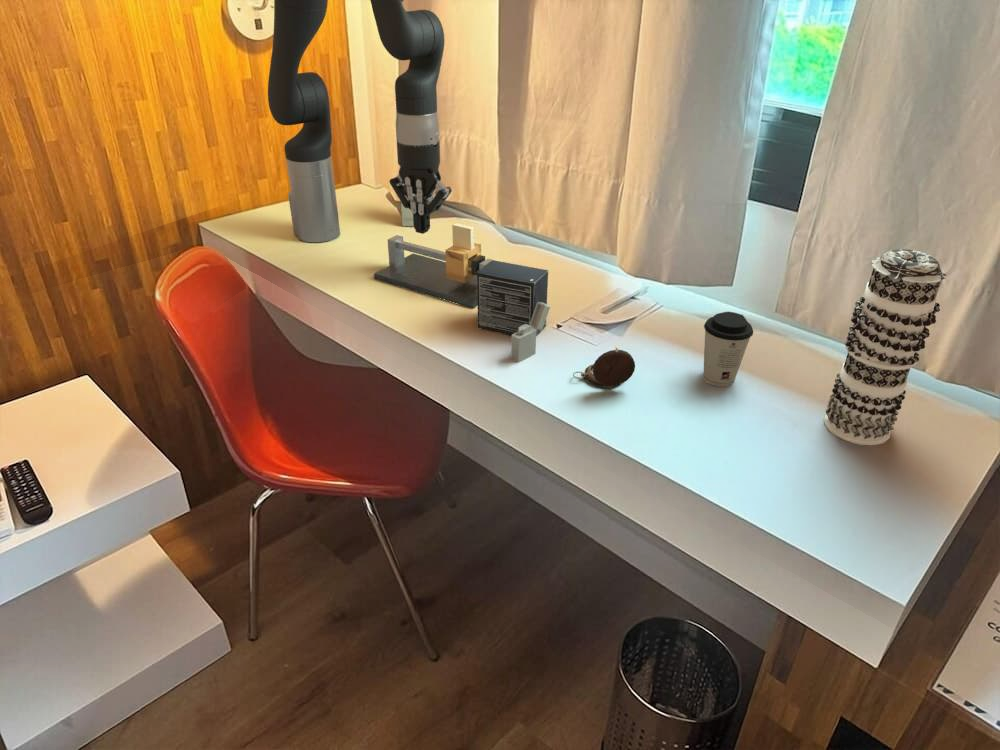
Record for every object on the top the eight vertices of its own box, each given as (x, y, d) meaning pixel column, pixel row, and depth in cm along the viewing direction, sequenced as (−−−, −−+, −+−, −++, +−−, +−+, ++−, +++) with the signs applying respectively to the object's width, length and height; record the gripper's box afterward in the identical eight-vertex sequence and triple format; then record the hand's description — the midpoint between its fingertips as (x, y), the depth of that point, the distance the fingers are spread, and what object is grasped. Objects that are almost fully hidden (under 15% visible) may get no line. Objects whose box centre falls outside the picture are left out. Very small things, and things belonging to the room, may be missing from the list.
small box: (548, 325, 124) (550, 268, 119) (533, 342, 119) (535, 283, 113) (492, 313, 128) (492, 257, 122) (476, 328, 123) (475, 271, 117)
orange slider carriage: (446, 278, 134) (444, 228, 129) (463, 267, 138) (462, 219, 133) (464, 283, 132) (463, 233, 127) (481, 272, 136) (480, 223, 131)
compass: (617, 366, 113) (622, 324, 109) (633, 393, 106) (638, 350, 102) (567, 369, 112) (570, 328, 108) (579, 397, 105) (583, 354, 101)
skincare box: (420, 227, 164) (417, 173, 157) (401, 227, 164) (397, 173, 157) (424, 217, 169) (421, 165, 163) (405, 217, 169) (402, 165, 163)
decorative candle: (907, 445, 96) (974, 271, 82) (840, 448, 95) (896, 273, 82) (872, 406, 103) (927, 241, 90) (809, 409, 103) (856, 243, 90)
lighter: (518, 362, 113) (519, 317, 109) (510, 358, 114) (511, 313, 110) (548, 346, 118) (550, 302, 113) (540, 343, 119) (542, 299, 114)
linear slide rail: (374, 279, 140) (371, 245, 136) (413, 258, 148) (411, 226, 145) (472, 308, 129) (472, 272, 125) (508, 284, 138) (508, 250, 134)
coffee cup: (734, 395, 106) (747, 335, 100) (688, 382, 109) (698, 323, 103) (748, 374, 111) (761, 316, 105) (703, 362, 114) (714, 304, 108)
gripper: (374, 136, 127) (382, 230, 136) (435, 148, 121) (438, 246, 130) (401, 128, 132) (407, 219, 141) (461, 139, 126) (462, 233, 136)
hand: (422, 231), depth 136 cm, fingers closed
